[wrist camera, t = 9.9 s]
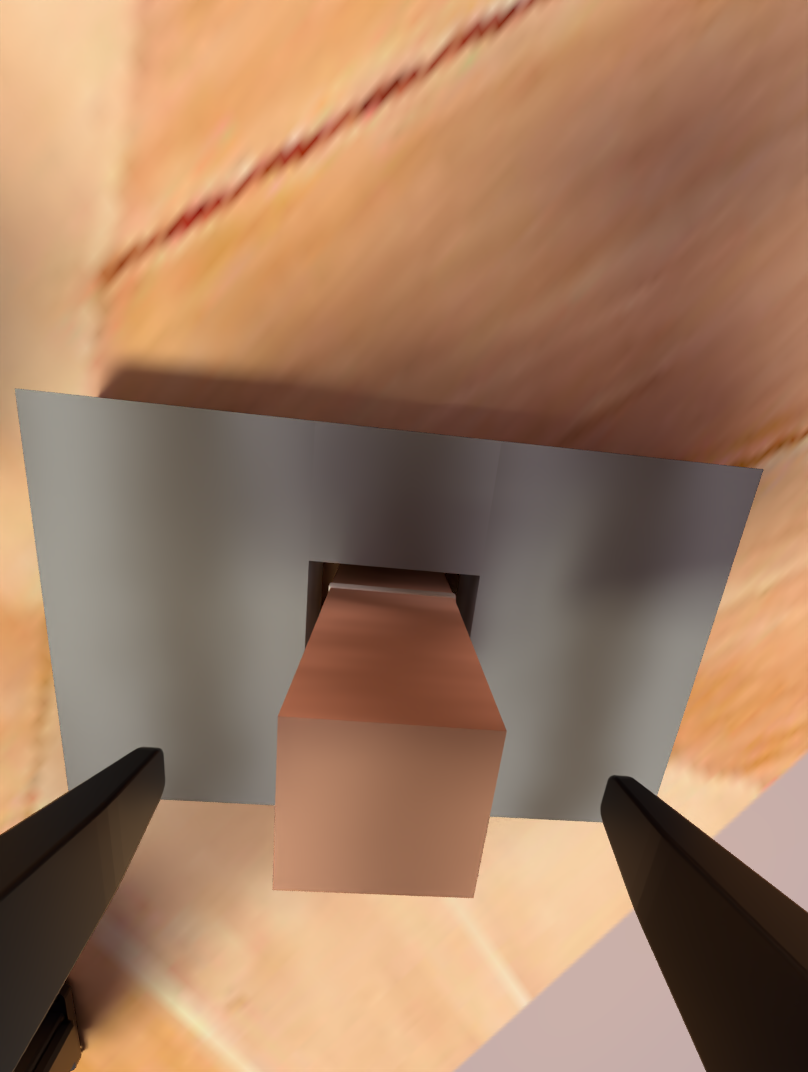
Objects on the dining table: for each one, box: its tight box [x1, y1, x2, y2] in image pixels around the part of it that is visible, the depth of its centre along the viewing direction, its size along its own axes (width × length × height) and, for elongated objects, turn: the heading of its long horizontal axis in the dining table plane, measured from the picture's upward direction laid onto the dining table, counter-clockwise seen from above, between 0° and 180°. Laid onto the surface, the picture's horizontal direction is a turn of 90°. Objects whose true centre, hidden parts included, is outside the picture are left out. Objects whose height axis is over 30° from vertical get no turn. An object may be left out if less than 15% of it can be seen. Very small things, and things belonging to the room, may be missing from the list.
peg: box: [273, 563, 507, 898], centre depth 12 cm, size 4×4×9 cm
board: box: [15, 388, 763, 822], centre depth 14 cm, size 22×14×3 cm, turn 84°
